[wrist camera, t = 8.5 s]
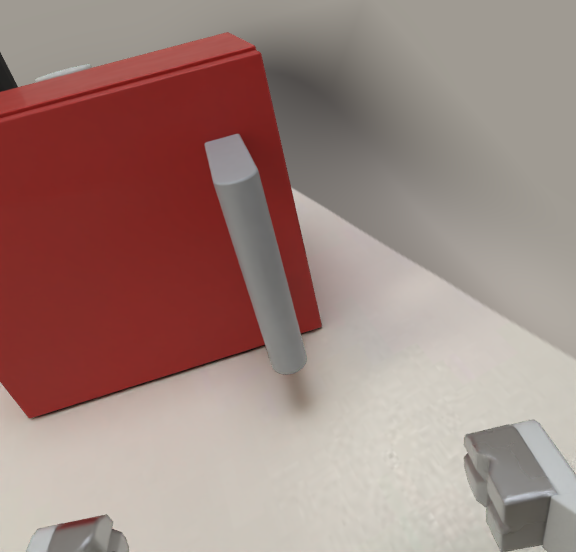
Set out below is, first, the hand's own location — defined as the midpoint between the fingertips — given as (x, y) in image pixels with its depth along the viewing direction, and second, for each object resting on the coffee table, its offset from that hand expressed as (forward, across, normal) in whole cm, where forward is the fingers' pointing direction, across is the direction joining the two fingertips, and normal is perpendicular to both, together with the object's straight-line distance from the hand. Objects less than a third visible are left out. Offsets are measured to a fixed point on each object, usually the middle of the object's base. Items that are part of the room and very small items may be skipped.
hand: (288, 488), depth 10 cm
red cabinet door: (+11, +6, +8) cm, 15 cm away
